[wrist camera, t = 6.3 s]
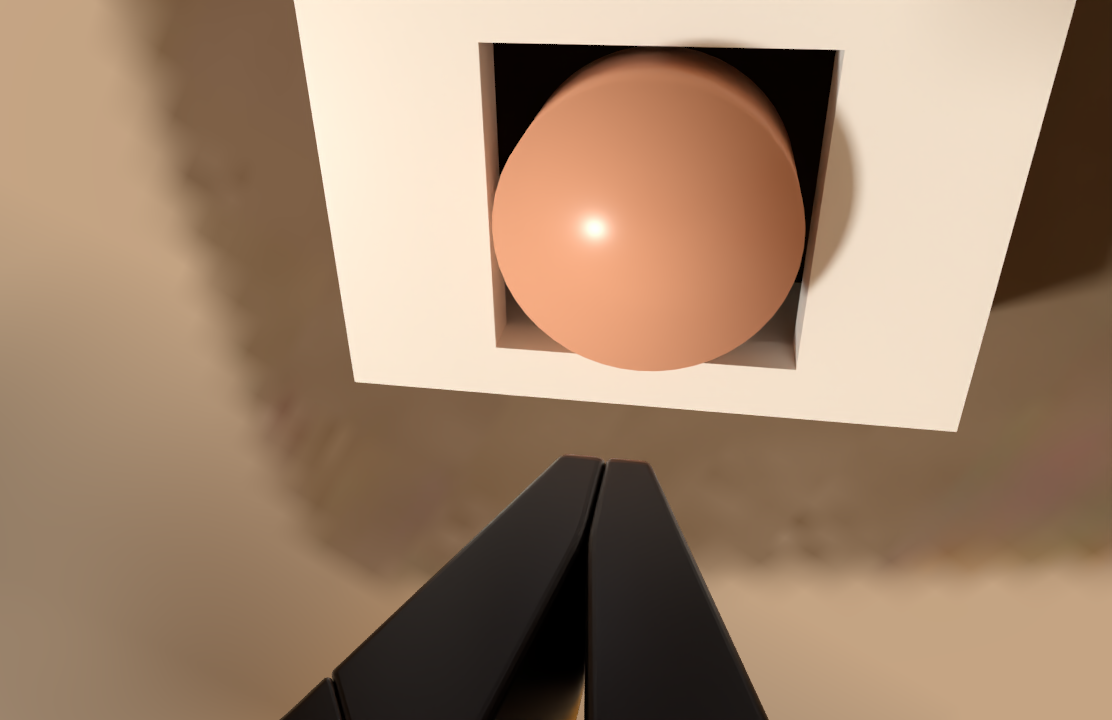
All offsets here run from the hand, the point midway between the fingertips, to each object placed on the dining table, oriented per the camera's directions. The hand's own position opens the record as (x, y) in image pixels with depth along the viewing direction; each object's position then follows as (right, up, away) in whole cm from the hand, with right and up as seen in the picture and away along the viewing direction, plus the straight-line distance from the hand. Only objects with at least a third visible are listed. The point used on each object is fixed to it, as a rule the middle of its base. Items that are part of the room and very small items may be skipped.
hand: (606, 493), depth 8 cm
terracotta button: (+1, +5, +8) cm, 10 cm away
